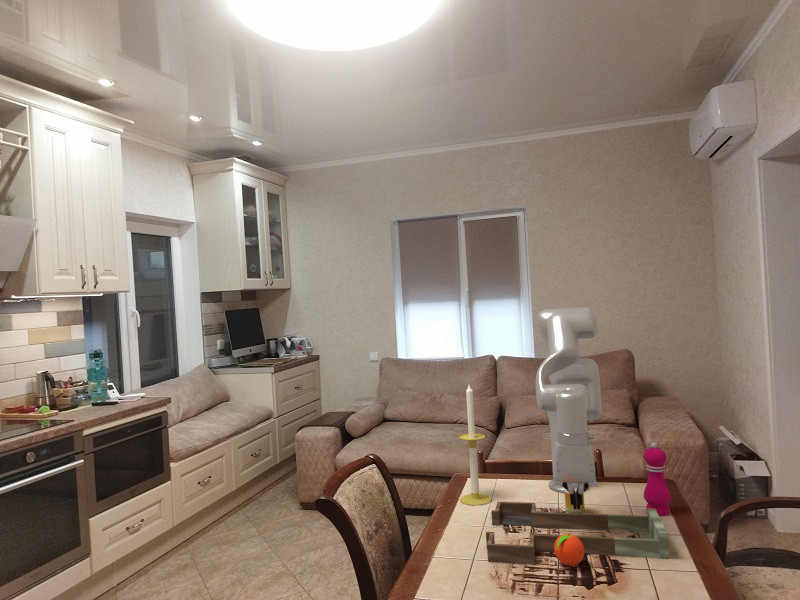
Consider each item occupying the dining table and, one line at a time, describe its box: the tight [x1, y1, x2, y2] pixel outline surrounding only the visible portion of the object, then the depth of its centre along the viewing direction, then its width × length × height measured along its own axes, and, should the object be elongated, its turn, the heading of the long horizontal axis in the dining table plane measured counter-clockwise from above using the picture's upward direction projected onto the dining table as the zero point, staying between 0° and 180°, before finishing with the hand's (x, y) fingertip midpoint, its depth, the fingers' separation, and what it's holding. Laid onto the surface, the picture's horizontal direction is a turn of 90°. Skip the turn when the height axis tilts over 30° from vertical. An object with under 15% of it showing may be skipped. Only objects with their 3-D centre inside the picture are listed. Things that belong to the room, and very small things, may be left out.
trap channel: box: [485, 501, 670, 565], centre depth 146 cm, size 30×43×6 cm
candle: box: [458, 384, 492, 507], centre depth 179 cm, size 10×10×38 cm
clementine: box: [553, 533, 585, 567], centre depth 133 cm, size 8×7×7 cm
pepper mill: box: [643, 441, 672, 517], centre depth 161 cm, size 7×7×20 cm
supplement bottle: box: [563, 483, 586, 514], centre depth 164 cm, size 5×5×10 cm
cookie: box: [601, 528, 641, 539], centre depth 142 cm, size 10×11×3 cm
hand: (576, 507), depth 147 cm, fingers closed
